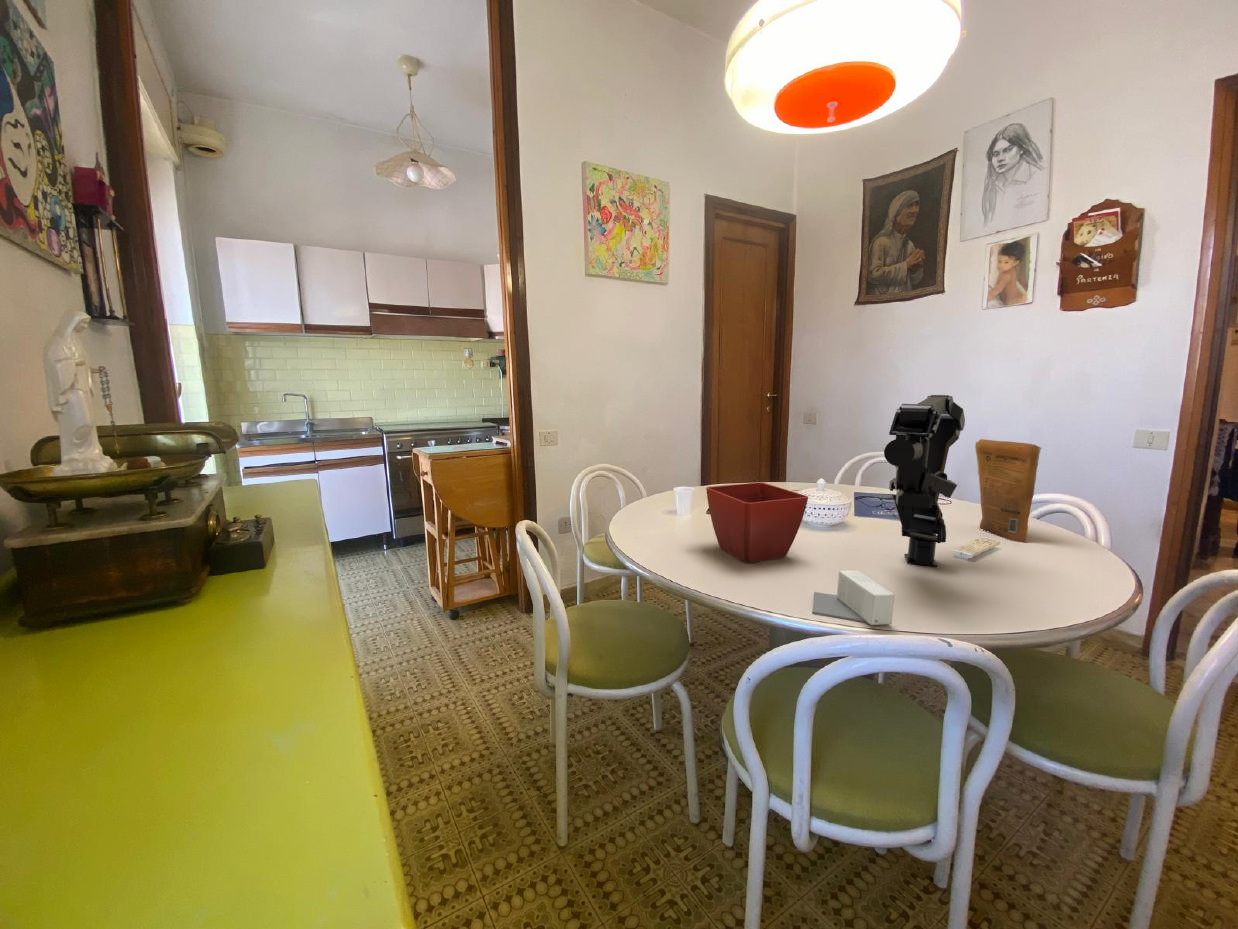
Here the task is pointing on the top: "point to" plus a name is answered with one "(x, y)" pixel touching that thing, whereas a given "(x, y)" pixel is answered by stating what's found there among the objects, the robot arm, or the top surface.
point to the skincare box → (865, 597)
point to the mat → (833, 607)
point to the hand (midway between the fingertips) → (905, 529)
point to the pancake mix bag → (1006, 486)
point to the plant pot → (755, 519)
